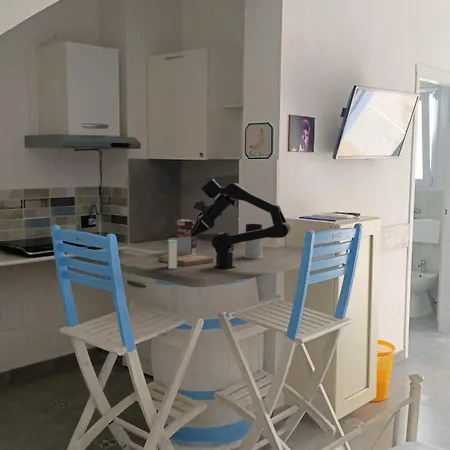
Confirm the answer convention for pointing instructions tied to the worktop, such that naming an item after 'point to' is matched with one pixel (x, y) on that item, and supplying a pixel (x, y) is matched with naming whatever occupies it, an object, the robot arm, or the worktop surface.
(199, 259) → the wooden board
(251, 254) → the glass holder
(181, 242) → the grey metal bookend
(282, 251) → the worktop surface
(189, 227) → the supplement box
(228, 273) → the worktop surface
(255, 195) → the robot arm
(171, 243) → the teal rectangular block
